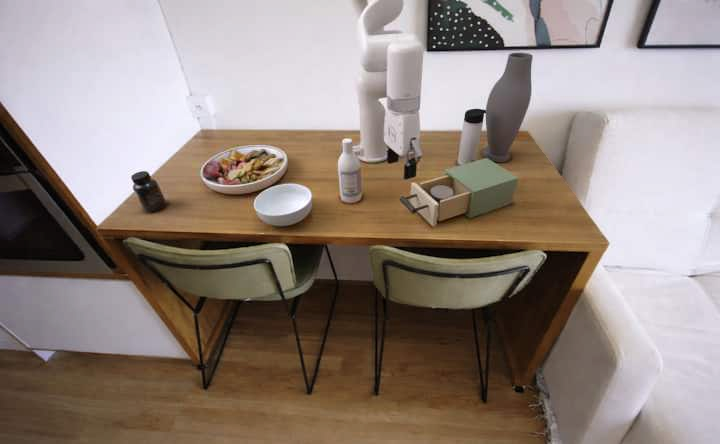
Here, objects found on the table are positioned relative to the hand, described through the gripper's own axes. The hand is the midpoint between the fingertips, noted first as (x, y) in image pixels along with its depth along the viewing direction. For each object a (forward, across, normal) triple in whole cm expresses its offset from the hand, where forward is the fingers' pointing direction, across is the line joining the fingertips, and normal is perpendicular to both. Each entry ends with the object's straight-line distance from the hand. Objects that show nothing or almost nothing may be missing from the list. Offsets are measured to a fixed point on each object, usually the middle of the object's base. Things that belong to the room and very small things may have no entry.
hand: (401, 169), depth 88 cm
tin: (+16, 0, +14) cm, 21 cm away
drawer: (+17, 0, +12) cm, 21 cm away
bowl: (+18, -50, -35) cm, 64 cm away
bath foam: (+18, -19, -7) cm, 27 cm away
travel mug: (+18, -19, +39) cm, 47 cm away
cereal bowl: (+18, -18, -29) cm, 39 cm away
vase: (+18, -20, +53) cm, 59 cm away
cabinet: (+18, 0, +27) cm, 33 cm away
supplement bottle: (+18, -44, -66) cm, 81 cm away
